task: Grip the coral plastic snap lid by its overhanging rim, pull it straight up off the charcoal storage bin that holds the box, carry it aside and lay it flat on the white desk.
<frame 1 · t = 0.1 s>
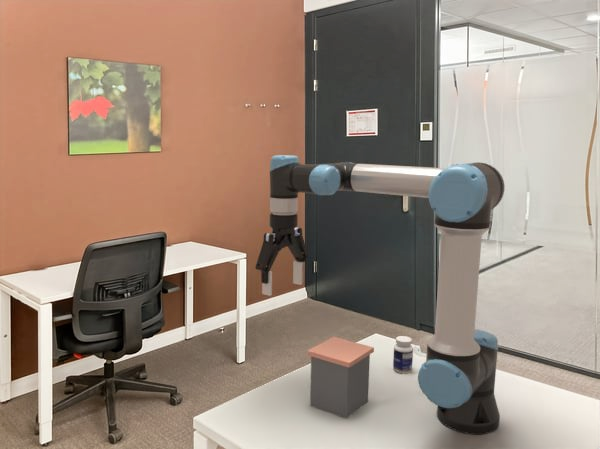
hand: (282, 289, 155), 28 cm above the table, fingers open, 13 cm apart
bin: (339, 403, 149), on the table
lid: (340, 353, 147), point 14 cm above the table, touching bin
pill bottle: (402, 370, 171), on the table
box: (339, 404, 149), resting in bin
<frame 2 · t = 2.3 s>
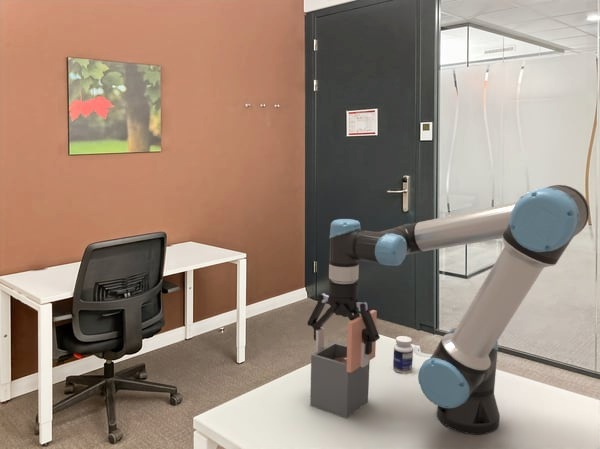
hand: (341, 359, 147), 13 cm above the table, fingers open, 13 cm apart
lid: (359, 339, 143), point 19 cm above the table, tilted 90°, touching gripper, hand
everything else where it was.
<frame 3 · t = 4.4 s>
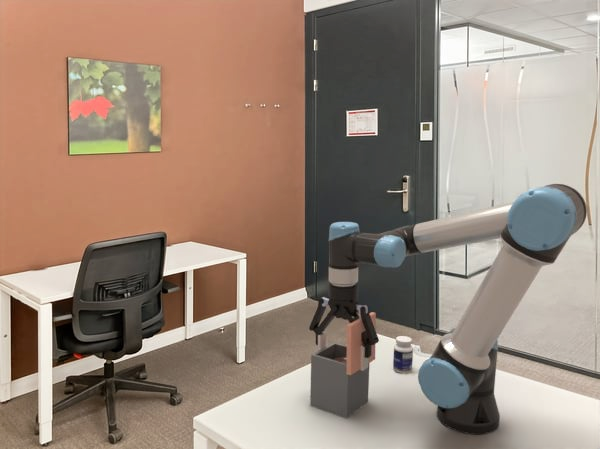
hand: (342, 363, 147), 12 cm above the table, fingers open, 12 cm apart
lid: (359, 342, 143), point 18 cm above the table, tilted 88°, touching bin, gripper
everything else where it was.
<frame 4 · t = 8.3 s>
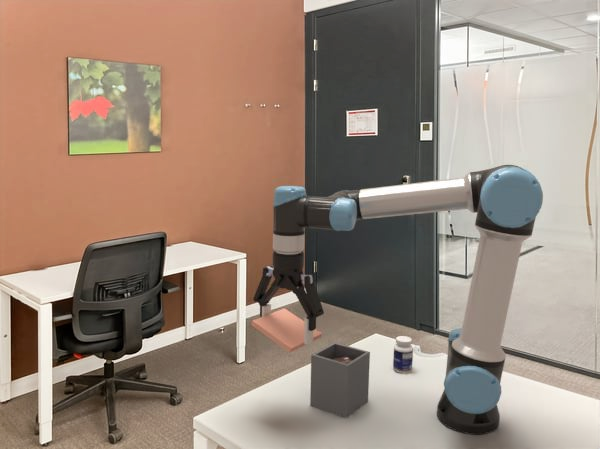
hand: (286, 336, 138), 21 cm above the table, fingers closed on lid, 12 cm apart
lid: (286, 331, 138), point 22 cm above the table, tilted 19°, touching gripper
everything else where it was.
when the fingers open (1 cm above the table, at t = 11.5 s): lid stays where it is, point 2 cm above the table.
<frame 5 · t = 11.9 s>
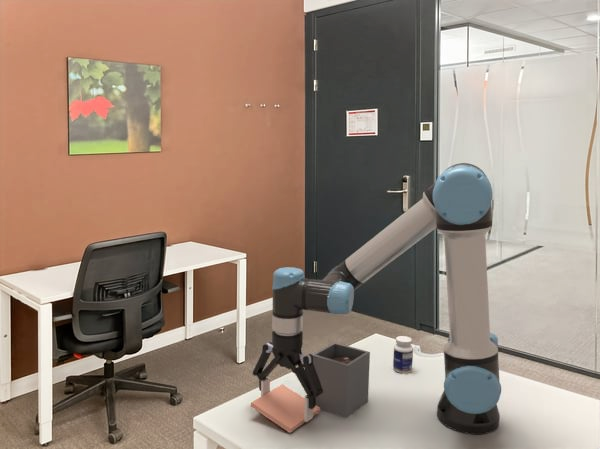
hand: (286, 411, 141), 1 cm above the table, fingers open, 13 cm apart
lid: (285, 409, 142), point 2 cm above the table, tilted 13°, touching gripper
everything else where it was.
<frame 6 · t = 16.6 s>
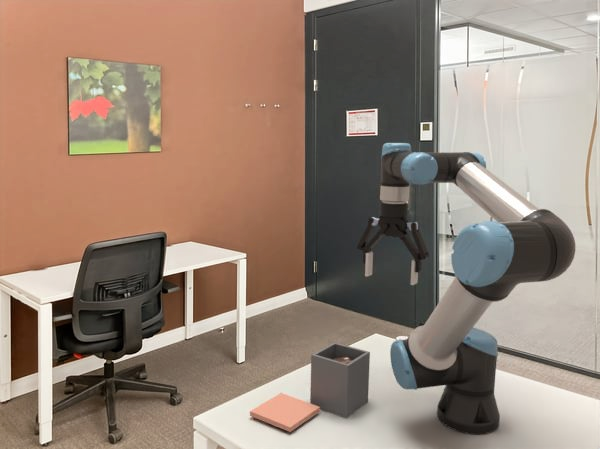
hand: (390, 279, 152), 32 cm above the table, fingers open, 13 cm apart
lid: (285, 413, 142), point 1 cm above the table
everything else where it was.
at the end: lid inside the target area (0.4 cm from its centre), point 0.7 cm above the table; lid tilted 0°; the gripper is holding nothing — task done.
